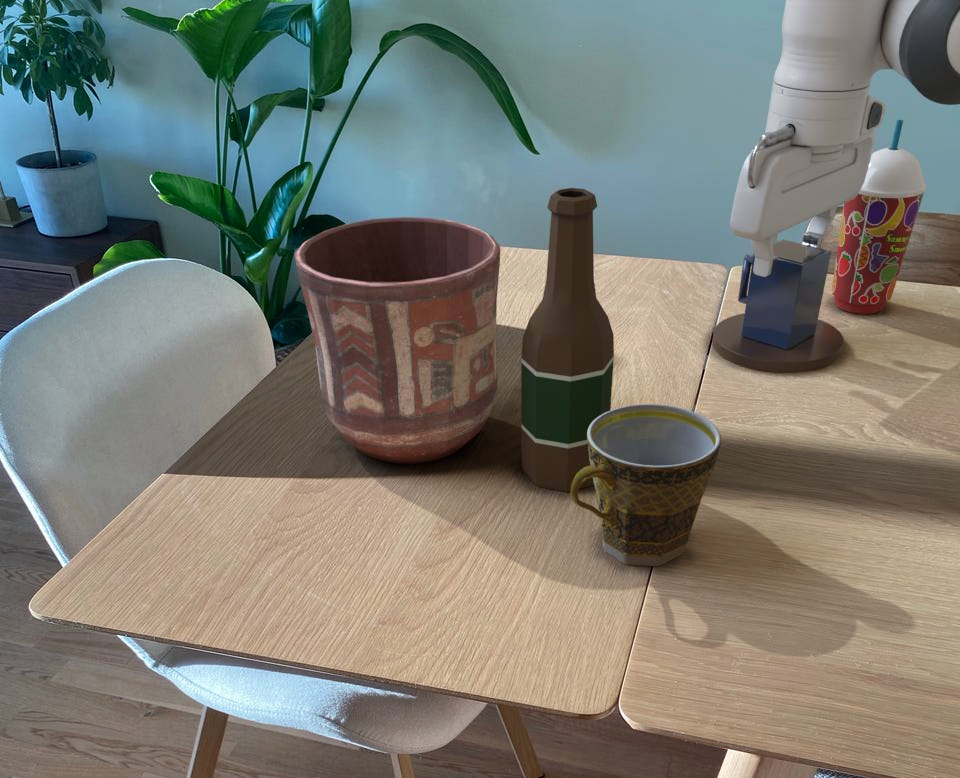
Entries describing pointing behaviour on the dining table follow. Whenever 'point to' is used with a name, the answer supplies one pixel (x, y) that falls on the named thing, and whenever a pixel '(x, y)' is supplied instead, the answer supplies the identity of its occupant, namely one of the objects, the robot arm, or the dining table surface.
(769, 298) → the mug
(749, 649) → the dining table surface
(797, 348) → the coaster
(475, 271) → the pottery
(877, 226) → the smoothie
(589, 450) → the ceramic cup
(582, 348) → the beer bottle
